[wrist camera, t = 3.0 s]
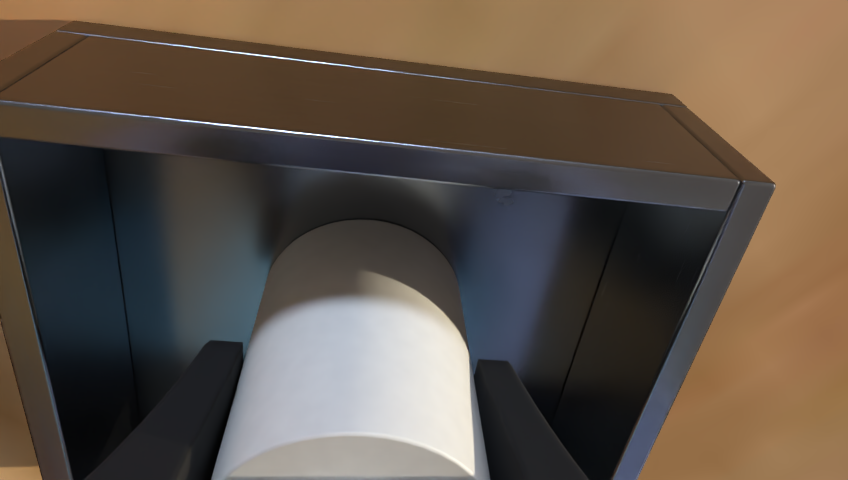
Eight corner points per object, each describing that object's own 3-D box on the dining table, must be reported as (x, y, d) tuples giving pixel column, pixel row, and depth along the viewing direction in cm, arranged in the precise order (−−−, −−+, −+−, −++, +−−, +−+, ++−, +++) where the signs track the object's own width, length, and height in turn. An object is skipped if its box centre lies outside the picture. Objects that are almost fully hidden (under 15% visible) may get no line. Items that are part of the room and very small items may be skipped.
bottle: (475, 228, 14) (557, 581, 7) (443, 379, 17) (484, 752, 10) (265, 208, 14) (143, 568, 7) (263, 368, 16) (172, 752, 9)
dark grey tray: (673, 93, 14) (778, 184, 10) (548, 448, 19) (586, 588, 16) (72, 19, 12) (-63, 93, 9) (131, 426, 18) (66, 573, 14)
